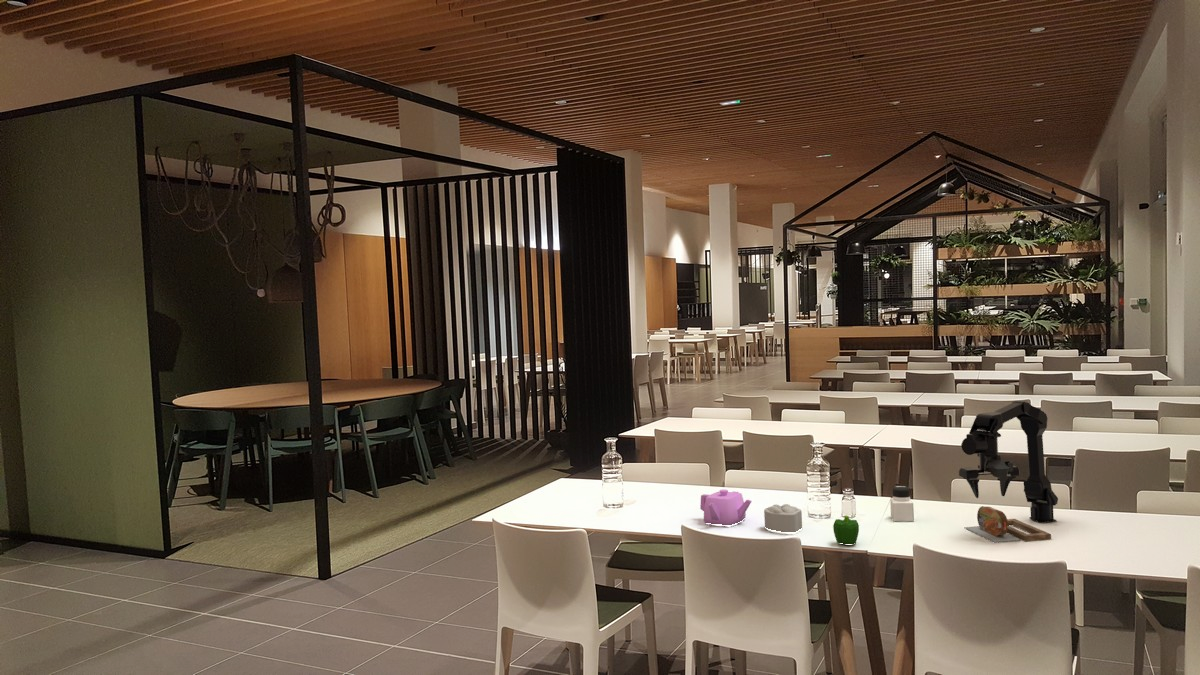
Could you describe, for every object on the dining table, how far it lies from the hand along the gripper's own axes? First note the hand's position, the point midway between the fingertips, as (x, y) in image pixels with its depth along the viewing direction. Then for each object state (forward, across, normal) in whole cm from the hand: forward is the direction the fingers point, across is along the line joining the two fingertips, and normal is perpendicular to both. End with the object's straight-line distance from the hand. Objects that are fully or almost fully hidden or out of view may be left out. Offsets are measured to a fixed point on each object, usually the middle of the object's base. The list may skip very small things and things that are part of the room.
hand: (990, 497), depth 286 cm
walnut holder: (+13, +10, 0) cm, 16 cm away
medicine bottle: (+13, -19, +27) cm, 36 cm away
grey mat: (+13, 0, 0) cm, 13 cm away
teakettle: (+13, -82, +41) cm, 93 cm away
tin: (+13, +1, 0) cm, 13 cm away
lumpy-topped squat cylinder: (+13, -65, +25) cm, 71 cm away
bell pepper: (+13, -50, +2) cm, 52 cm away
